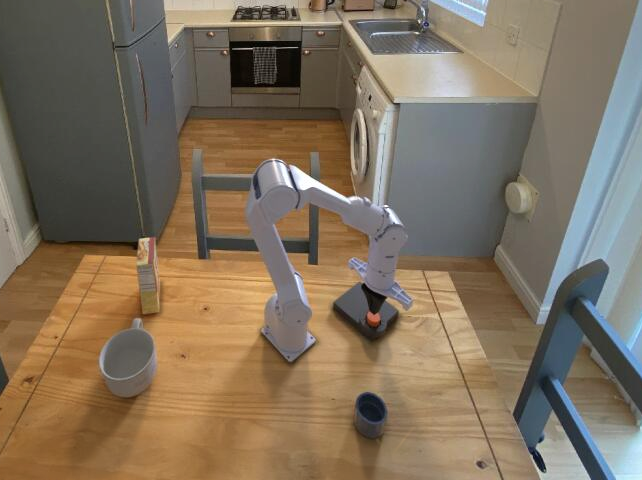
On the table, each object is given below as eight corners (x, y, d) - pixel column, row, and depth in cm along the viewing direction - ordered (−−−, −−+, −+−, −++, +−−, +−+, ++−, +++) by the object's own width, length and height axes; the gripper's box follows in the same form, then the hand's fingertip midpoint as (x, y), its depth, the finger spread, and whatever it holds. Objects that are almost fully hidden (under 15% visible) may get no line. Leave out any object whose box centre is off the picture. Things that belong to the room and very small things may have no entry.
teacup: (146, 411, 79) (141, 384, 76) (93, 400, 81) (87, 372, 78) (171, 344, 92) (168, 318, 89) (125, 335, 94) (121, 310, 91)
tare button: (363, 320, 93) (364, 315, 92) (371, 313, 94) (372, 308, 94) (374, 329, 91) (375, 324, 90) (382, 322, 92) (383, 317, 92)
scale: (330, 309, 99) (331, 299, 98) (359, 286, 105) (360, 276, 104) (374, 348, 90) (376, 336, 89) (403, 320, 96) (405, 309, 95)
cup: (347, 420, 77) (349, 405, 76) (365, 401, 80) (368, 385, 79) (372, 447, 73) (374, 431, 72) (390, 425, 76) (393, 410, 75)
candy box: (144, 285, 107) (137, 238, 101) (161, 283, 107) (155, 236, 101) (142, 315, 99) (135, 265, 93) (160, 312, 99) (154, 263, 93)
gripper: (425, 274, 83) (415, 323, 88) (364, 235, 94) (358, 280, 99) (405, 293, 79) (395, 342, 84) (344, 249, 90) (339, 296, 95)
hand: (374, 310), depth 91 cm, fingers closed
